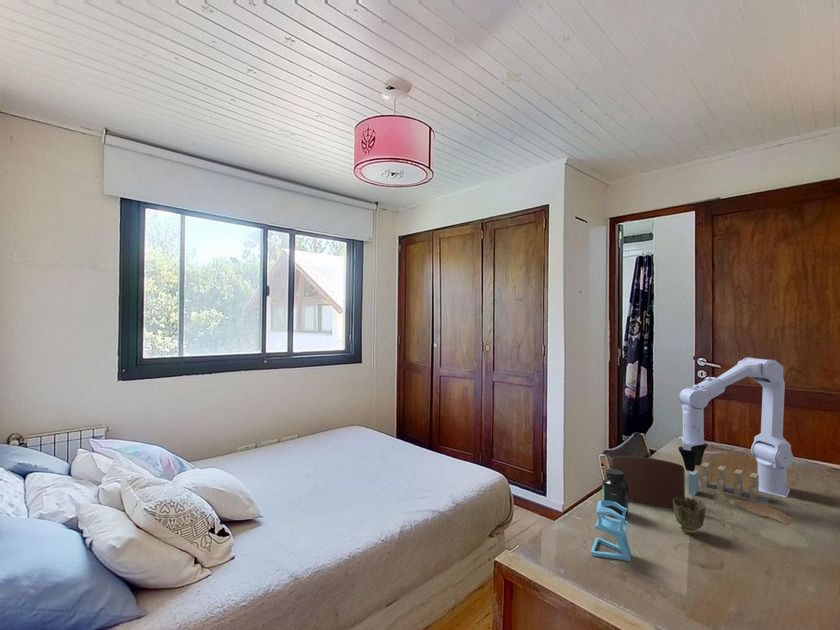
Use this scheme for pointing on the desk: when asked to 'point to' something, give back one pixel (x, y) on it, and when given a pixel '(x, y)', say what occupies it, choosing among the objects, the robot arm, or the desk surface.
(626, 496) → the supplement bottle
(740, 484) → the tile
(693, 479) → the tile
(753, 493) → the tile
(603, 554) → the light blue stand
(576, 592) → the desk surface
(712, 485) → the felt runner
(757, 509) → the pottery shard
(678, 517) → the cup
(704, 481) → the tile
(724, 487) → the tile
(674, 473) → the letter holder
